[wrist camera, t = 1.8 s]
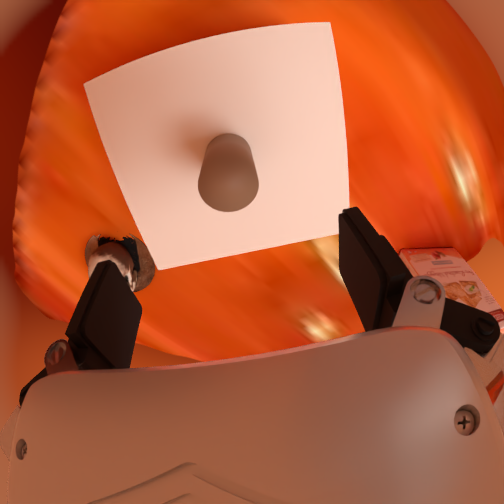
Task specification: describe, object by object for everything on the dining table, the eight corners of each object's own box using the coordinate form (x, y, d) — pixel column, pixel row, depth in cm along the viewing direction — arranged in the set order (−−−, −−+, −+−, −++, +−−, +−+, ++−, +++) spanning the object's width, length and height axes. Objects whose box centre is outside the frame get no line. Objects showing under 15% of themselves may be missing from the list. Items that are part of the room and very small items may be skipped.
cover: (129, 75, 25) (41, 94, 11) (295, 36, 24) (364, 10, 10) (175, 213, 37) (147, 315, 23) (317, 183, 36) (373, 272, 22)
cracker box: (454, 244, 44) (513, 324, 28) (443, 268, 48) (494, 347, 31) (400, 246, 43) (463, 344, 27) (390, 273, 47) (441, 369, 30)
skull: (164, 296, 44) (114, 330, 38) (130, 265, 49) (85, 293, 42) (156, 236, 37) (92, 272, 30) (120, 209, 41) (65, 236, 35)
